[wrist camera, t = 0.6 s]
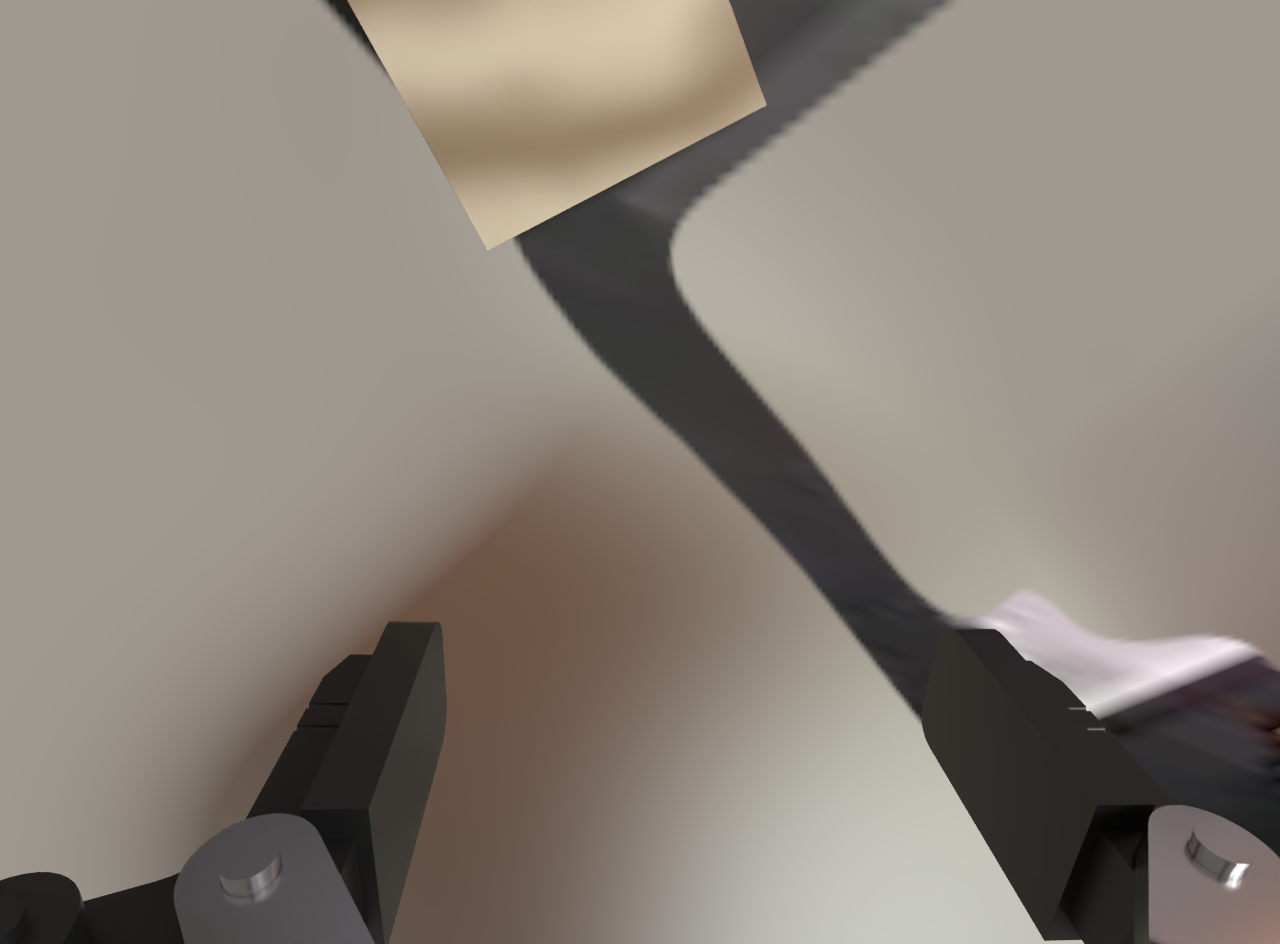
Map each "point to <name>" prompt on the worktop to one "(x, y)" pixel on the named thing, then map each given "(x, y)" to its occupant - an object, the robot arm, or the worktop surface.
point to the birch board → (558, 92)
